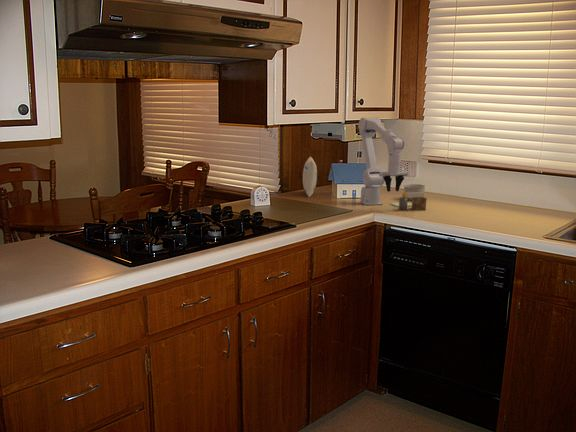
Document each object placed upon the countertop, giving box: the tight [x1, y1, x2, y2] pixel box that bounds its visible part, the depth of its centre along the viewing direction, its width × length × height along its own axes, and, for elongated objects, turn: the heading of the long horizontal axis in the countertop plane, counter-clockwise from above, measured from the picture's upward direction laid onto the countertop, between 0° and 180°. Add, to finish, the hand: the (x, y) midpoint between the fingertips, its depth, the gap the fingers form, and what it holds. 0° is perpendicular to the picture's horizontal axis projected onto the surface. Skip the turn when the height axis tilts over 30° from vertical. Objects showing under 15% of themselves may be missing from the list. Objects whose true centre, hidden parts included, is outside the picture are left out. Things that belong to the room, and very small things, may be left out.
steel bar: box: [401, 192, 425, 198], centre depth 291 cm, size 10×3×2 cm, turn 105°
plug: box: [398, 196, 409, 212], centre depth 290 cm, size 4×4×6 cm
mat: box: [390, 201, 412, 208], centre depth 302 cm, size 10×8×1 cm
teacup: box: [403, 183, 426, 202], centre depth 318 cm, size 14×11×8 cm
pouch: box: [302, 155, 318, 198], centre depth 325 cm, size 8×19×20 cm, turn 176°
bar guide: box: [411, 196, 428, 211], centre depth 292 cm, size 5×5×6 cm
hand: (392, 191), depth 287 cm, fingers open, 4 cm apart
